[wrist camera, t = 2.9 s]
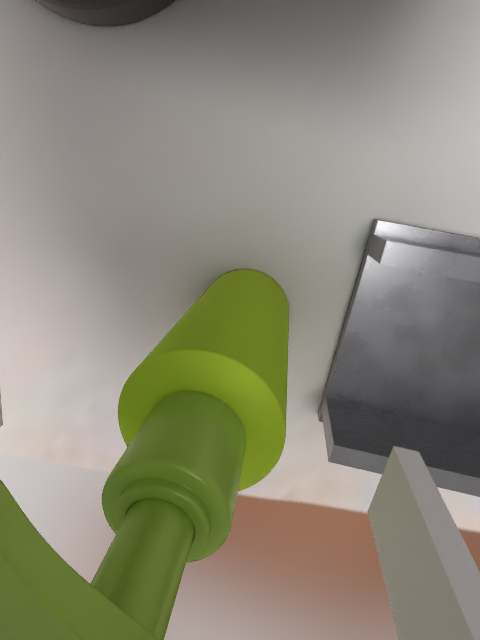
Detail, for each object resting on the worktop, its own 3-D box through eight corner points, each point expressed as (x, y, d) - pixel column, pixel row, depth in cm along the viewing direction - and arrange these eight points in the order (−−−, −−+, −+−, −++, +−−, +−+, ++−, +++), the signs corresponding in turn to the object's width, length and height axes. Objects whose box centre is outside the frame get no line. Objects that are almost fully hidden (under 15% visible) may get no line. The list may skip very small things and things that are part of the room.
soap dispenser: (242, 237, 23) (12, 435, 4) (306, 319, 24) (357, 766, 5) (177, 291, 24) (-191, 598, 6) (239, 364, 26) (100, 815, 7)
